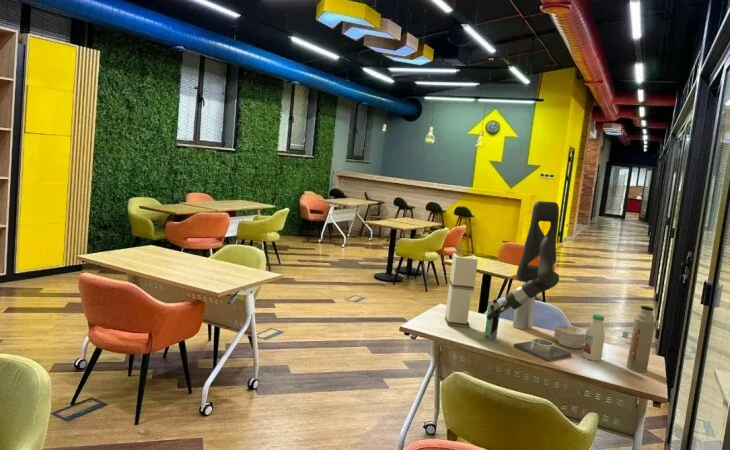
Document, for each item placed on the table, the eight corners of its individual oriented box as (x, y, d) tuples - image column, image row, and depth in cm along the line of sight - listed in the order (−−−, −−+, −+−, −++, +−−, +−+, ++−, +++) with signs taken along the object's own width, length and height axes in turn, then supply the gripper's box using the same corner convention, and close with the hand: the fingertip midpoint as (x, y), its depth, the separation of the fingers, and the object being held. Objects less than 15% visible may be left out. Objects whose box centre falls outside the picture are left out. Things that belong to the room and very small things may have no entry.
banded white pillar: (468, 327, 276) (477, 259, 272) (447, 325, 276) (456, 257, 272) (465, 321, 288) (473, 255, 283) (444, 319, 288) (453, 253, 283)
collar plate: (539, 343, 264) (540, 333, 263) (571, 356, 249) (572, 346, 248) (513, 346, 254) (514, 337, 253) (545, 361, 239) (547, 351, 238)
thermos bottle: (633, 372, 237) (643, 308, 233) (622, 364, 245) (633, 303, 241) (650, 373, 237) (661, 310, 234) (639, 366, 245) (650, 305, 242)
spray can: (495, 343, 256) (501, 301, 253) (483, 341, 257) (489, 299, 254) (495, 340, 261) (501, 299, 259) (483, 338, 262) (489, 297, 260)
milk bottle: (600, 357, 252) (607, 315, 249) (601, 362, 244) (608, 319, 242) (582, 353, 254) (588, 311, 252) (583, 359, 247) (589, 315, 244)
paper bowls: (558, 337, 276) (560, 322, 275) (590, 346, 268) (592, 330, 267) (549, 344, 264) (551, 328, 263) (581, 353, 255) (584, 336, 254)
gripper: (516, 287, 259) (488, 307, 266) (510, 293, 246) (480, 313, 253) (526, 301, 257) (497, 320, 264) (520, 307, 244) (490, 327, 251)
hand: (489, 316), depth 258 cm, fingers open, 6 cm apart
